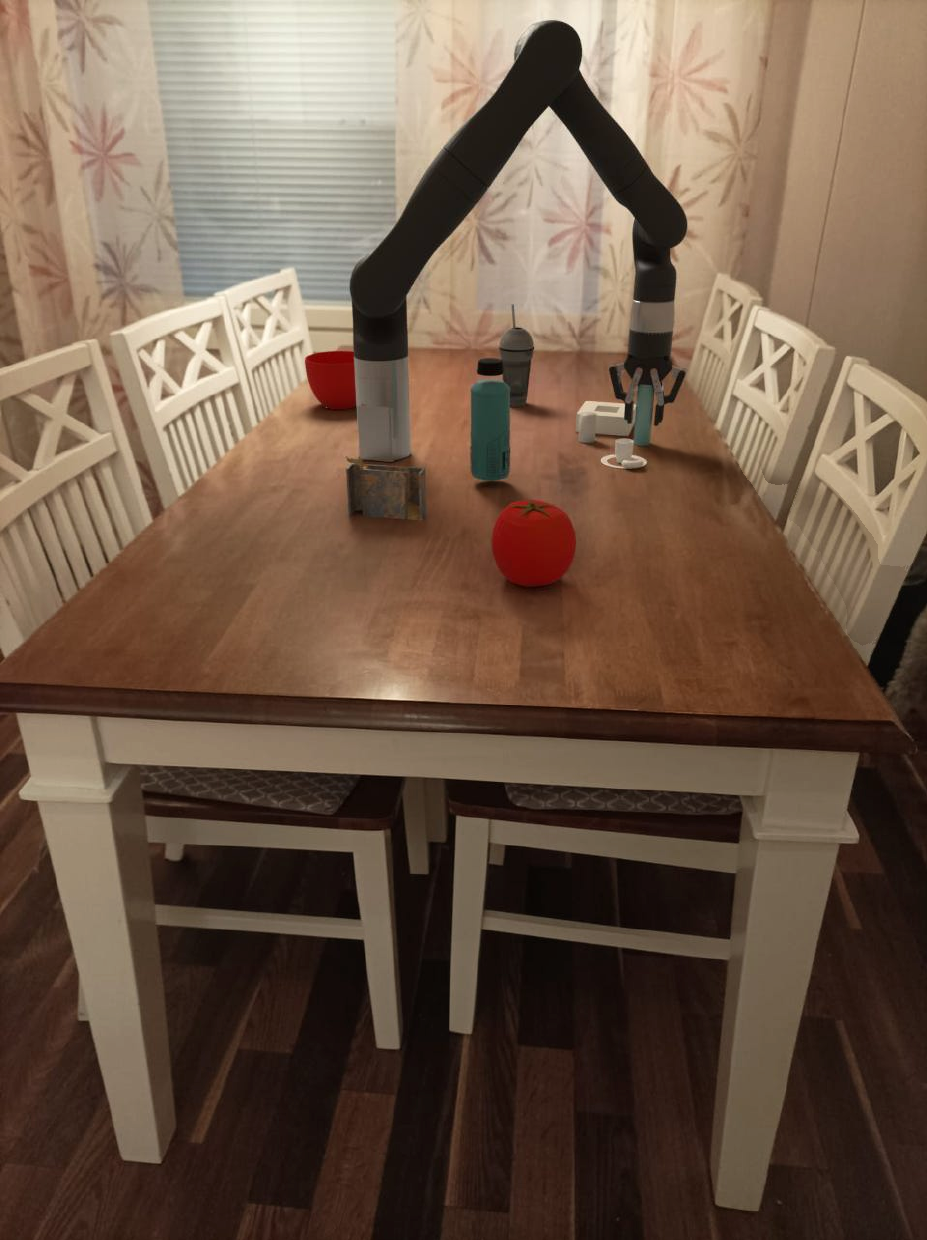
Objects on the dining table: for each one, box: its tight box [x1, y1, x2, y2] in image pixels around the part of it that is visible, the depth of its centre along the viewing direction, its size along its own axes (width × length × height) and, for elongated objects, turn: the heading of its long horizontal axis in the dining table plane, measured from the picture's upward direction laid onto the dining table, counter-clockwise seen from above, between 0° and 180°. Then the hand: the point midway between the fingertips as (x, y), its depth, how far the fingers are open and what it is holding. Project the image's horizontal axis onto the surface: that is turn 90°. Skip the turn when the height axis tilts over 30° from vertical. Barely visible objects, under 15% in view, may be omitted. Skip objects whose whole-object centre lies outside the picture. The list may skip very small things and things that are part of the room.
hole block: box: [575, 400, 636, 437], centre depth 185 cm, size 10×10×4 cm
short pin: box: [578, 412, 596, 444], centre depth 177 cm, size 3×3×5 cm
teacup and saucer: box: [600, 438, 648, 470], centre depth 166 cm, size 9×8×4 cm
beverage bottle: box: [469, 357, 512, 482], centre depth 152 cm, size 6×7×20 cm
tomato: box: [491, 499, 577, 588], centre depth 121 cm, size 10×11×11 cm
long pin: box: [632, 385, 655, 447], centre depth 174 cm, size 3×3×11 cm
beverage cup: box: [498, 304, 535, 408], centre depth 197 cm, size 7×7×20 cm
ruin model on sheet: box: [345, 456, 427, 521], centre depth 142 cm, size 11×3×10 cm, turn 78°
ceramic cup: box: [304, 350, 357, 411], centre depth 198 cm, size 13×17×10 cm
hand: (643, 423), depth 174 cm, fingers open, 4 cm apart
